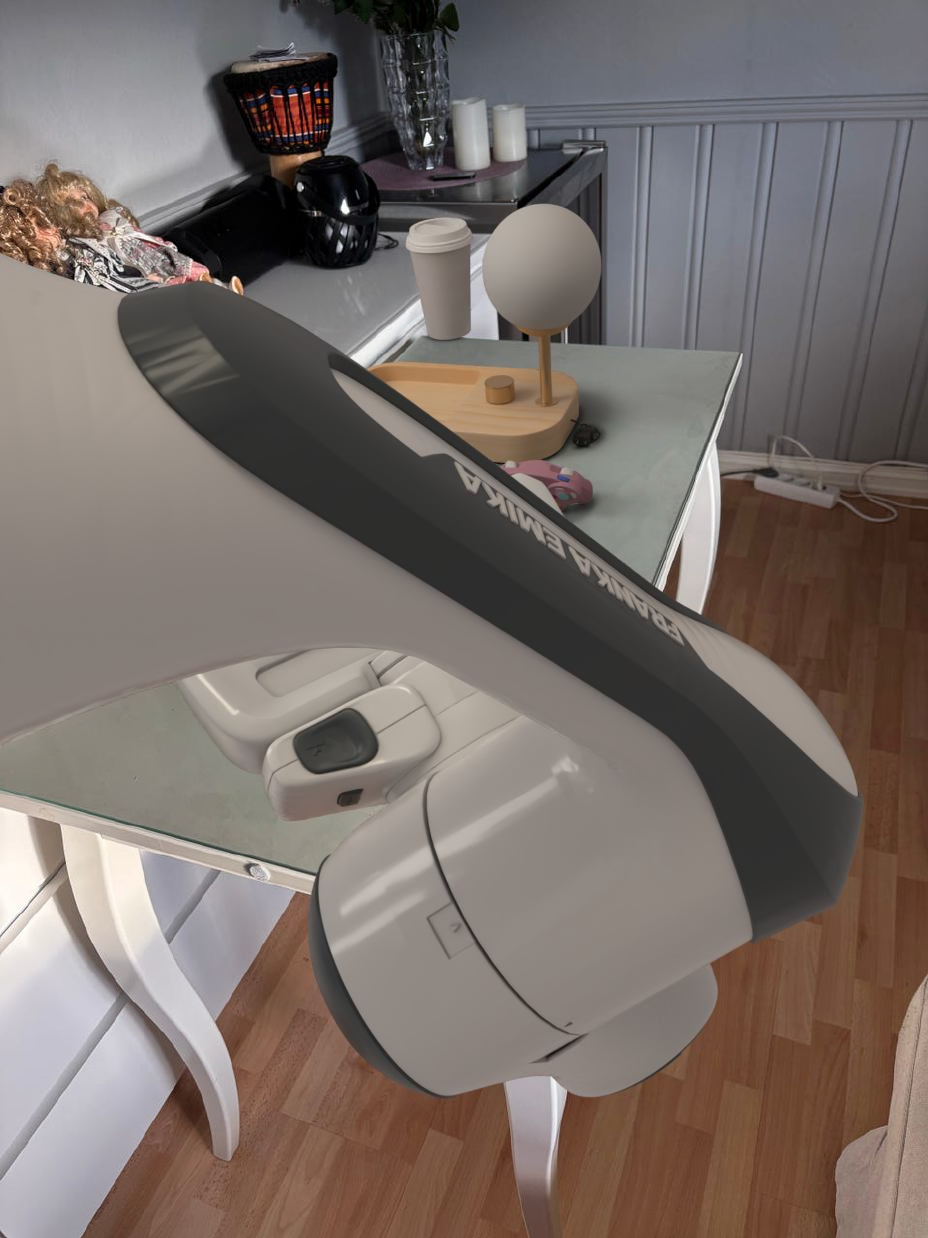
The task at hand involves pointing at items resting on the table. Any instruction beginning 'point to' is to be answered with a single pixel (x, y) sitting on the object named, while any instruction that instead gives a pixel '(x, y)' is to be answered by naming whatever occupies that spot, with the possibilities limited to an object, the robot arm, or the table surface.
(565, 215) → the lamp
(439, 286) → the coffee cup
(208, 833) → the table surface
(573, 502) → the video game controller
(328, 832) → the table surface
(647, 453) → the table surface
